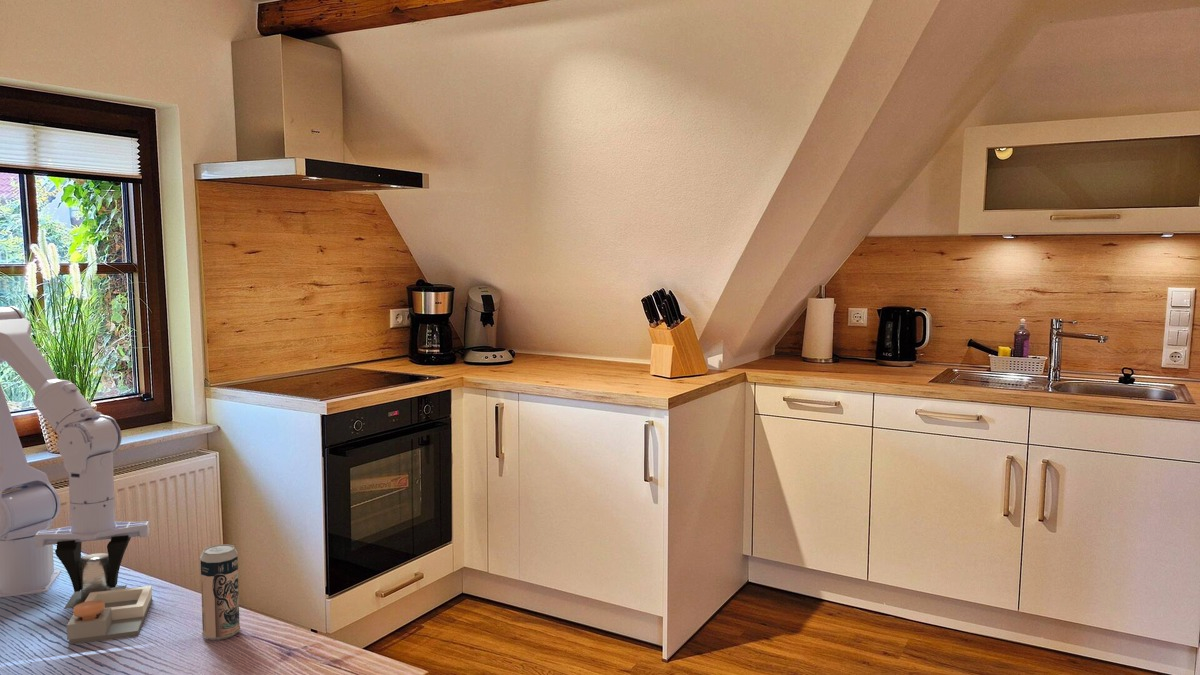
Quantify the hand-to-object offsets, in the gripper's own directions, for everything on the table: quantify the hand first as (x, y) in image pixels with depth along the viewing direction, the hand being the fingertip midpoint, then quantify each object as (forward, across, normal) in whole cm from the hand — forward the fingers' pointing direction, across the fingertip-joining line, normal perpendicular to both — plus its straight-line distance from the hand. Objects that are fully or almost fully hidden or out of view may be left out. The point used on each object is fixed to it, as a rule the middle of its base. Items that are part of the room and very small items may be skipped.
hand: (96, 587), depth 126 cm
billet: (+1, 0, 0) cm, 1 cm away
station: (+2, +4, -10) cm, 11 cm away
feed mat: (+2, 0, 0) cm, 2 cm away
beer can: (+2, +18, -20) cm, 27 cm away
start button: (+1, +2, -15) cm, 15 cm away
